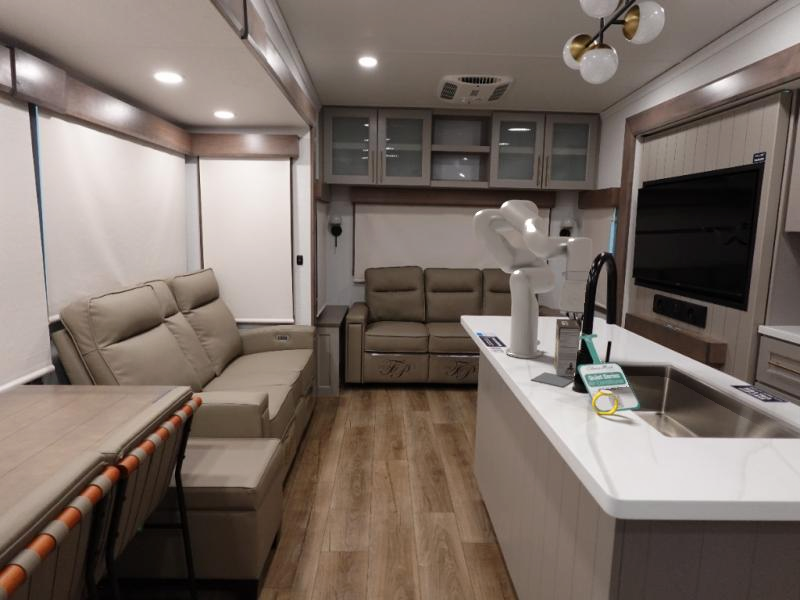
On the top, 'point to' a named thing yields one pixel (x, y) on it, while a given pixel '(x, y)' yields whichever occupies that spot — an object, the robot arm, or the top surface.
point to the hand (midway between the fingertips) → (576, 333)
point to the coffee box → (566, 346)
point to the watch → (606, 393)
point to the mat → (553, 379)
